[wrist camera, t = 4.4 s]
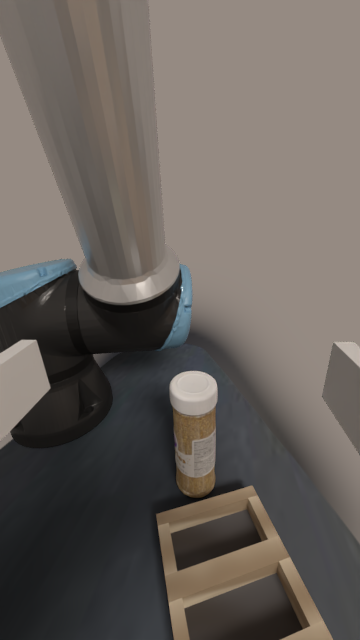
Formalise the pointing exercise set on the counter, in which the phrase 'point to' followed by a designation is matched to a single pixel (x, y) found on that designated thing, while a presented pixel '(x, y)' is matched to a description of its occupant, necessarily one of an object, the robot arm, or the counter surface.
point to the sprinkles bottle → (194, 431)
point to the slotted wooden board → (233, 574)
